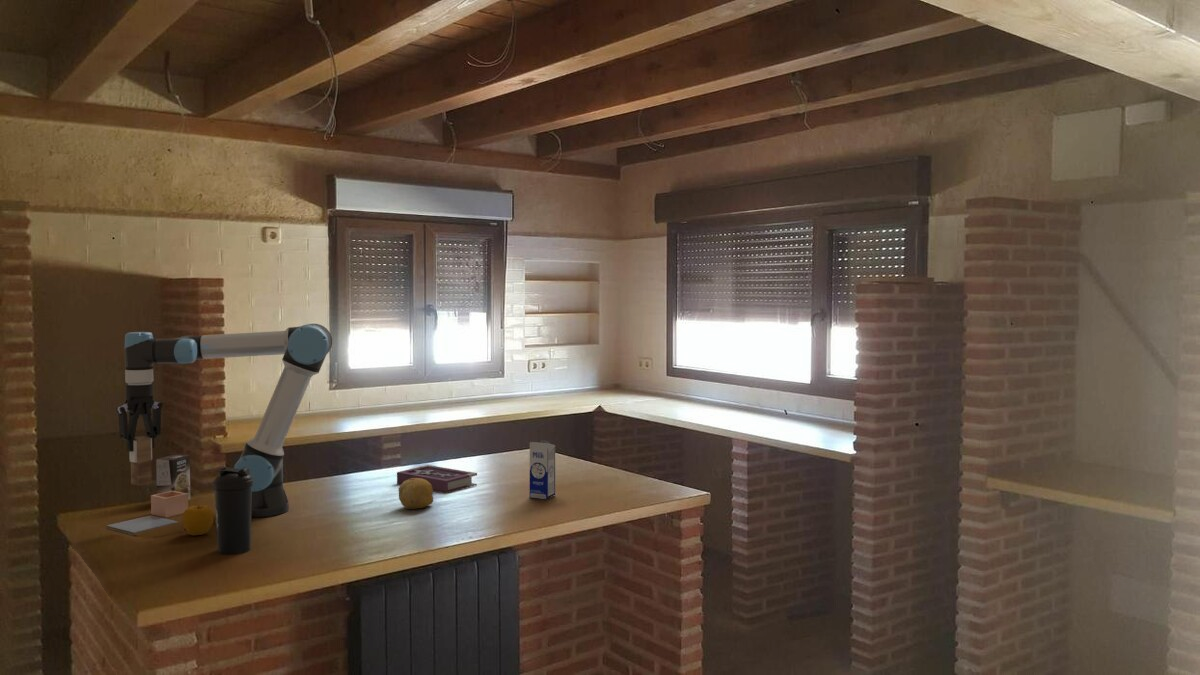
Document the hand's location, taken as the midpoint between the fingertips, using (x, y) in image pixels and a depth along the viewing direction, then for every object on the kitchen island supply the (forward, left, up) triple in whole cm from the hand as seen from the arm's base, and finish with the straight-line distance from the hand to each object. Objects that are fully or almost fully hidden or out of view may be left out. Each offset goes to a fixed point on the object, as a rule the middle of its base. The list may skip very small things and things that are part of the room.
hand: (141, 460), depth 265 cm
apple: (-21, -4, -21) cm, 30 cm away
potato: (-53, -62, -21) cm, 84 cm away
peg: (0, 0, -7) cm, 7 cm away
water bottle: (-43, 0, -21) cm, 48 cm away
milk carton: (-80, -97, -21) cm, 128 cm away
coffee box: (+18, -22, -21) cm, 35 cm away
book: (-36, -92, -21) cm, 101 cm away
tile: (0, 0, -21) cm, 21 cm away
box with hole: (+5, -12, -21) cm, 24 cm away
